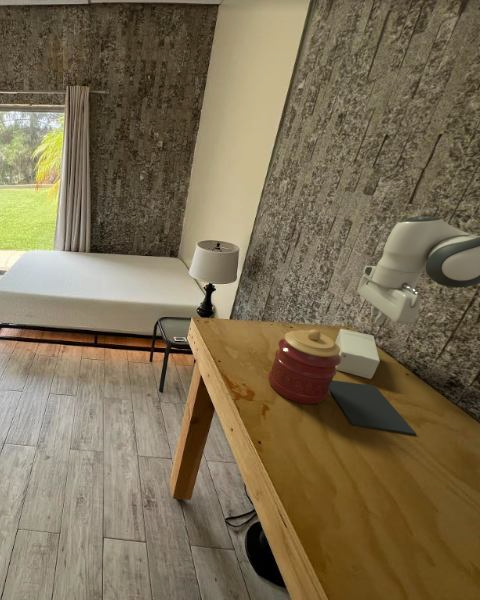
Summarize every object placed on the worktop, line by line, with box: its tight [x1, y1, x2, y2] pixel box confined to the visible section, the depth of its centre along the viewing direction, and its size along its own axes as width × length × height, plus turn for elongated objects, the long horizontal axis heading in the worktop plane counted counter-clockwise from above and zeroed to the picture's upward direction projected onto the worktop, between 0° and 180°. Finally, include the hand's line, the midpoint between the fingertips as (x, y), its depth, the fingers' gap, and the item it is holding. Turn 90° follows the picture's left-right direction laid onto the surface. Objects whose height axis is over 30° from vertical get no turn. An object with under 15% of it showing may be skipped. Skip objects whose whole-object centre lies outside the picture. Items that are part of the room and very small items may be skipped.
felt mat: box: [328, 379, 417, 436], centre depth 77 cm, size 12×16×1 cm
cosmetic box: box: [334, 328, 381, 380], centre depth 92 cm, size 8×7×16 cm
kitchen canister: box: [268, 328, 341, 405], centre depth 80 cm, size 13×13×18 cm
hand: (375, 322), depth 91 cm, fingers closed
